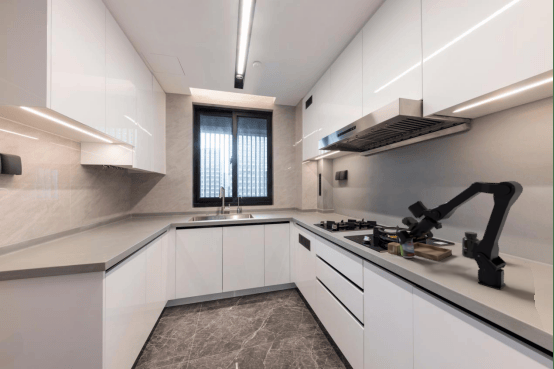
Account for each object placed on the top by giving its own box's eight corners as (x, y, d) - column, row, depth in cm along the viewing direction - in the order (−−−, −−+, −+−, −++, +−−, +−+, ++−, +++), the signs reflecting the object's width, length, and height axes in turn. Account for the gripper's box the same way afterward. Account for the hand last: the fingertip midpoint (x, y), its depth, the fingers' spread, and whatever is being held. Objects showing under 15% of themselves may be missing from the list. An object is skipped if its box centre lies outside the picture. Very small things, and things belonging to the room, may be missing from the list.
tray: (451, 254, 121) (451, 249, 121) (437, 261, 113) (437, 256, 113) (417, 246, 136) (417, 242, 135) (402, 252, 127) (402, 247, 127)
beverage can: (407, 260, 115) (407, 236, 115) (396, 255, 123) (395, 232, 122) (418, 258, 117) (417, 234, 117) (406, 253, 124) (405, 231, 124)
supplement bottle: (460, 256, 119) (460, 232, 118) (464, 253, 123) (464, 230, 122) (477, 259, 113) (477, 235, 113) (481, 256, 117) (481, 232, 117)
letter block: (402, 253, 125) (402, 244, 125) (397, 255, 123) (396, 246, 122) (393, 251, 130) (393, 242, 129) (387, 253, 127) (387, 243, 127)
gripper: (427, 210, 118) (408, 227, 129) (399, 214, 112) (381, 231, 123) (443, 229, 111) (421, 246, 122) (413, 234, 105) (394, 251, 116)
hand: (404, 243), depth 121 cm, fingers closed on beverage can, 6 cm apart
